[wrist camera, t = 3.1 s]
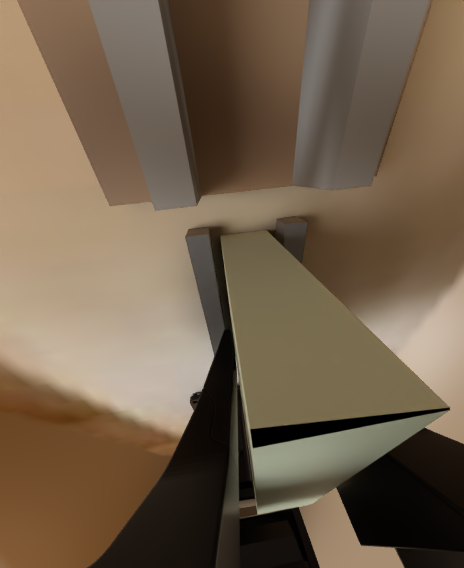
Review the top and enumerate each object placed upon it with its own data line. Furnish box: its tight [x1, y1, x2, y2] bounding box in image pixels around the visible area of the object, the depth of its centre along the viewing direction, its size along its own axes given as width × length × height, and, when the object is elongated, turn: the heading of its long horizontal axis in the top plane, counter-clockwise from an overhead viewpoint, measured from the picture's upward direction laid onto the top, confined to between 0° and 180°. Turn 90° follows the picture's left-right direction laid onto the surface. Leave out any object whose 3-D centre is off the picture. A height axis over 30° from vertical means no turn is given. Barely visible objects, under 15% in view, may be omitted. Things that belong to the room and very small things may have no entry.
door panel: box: [220, 230, 450, 514], centre depth 8 cm, size 10×2×8 cm, turn 5°
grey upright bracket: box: [185, 217, 308, 356], centre depth 11 cm, size 11×5×1 cm, turn 5°
